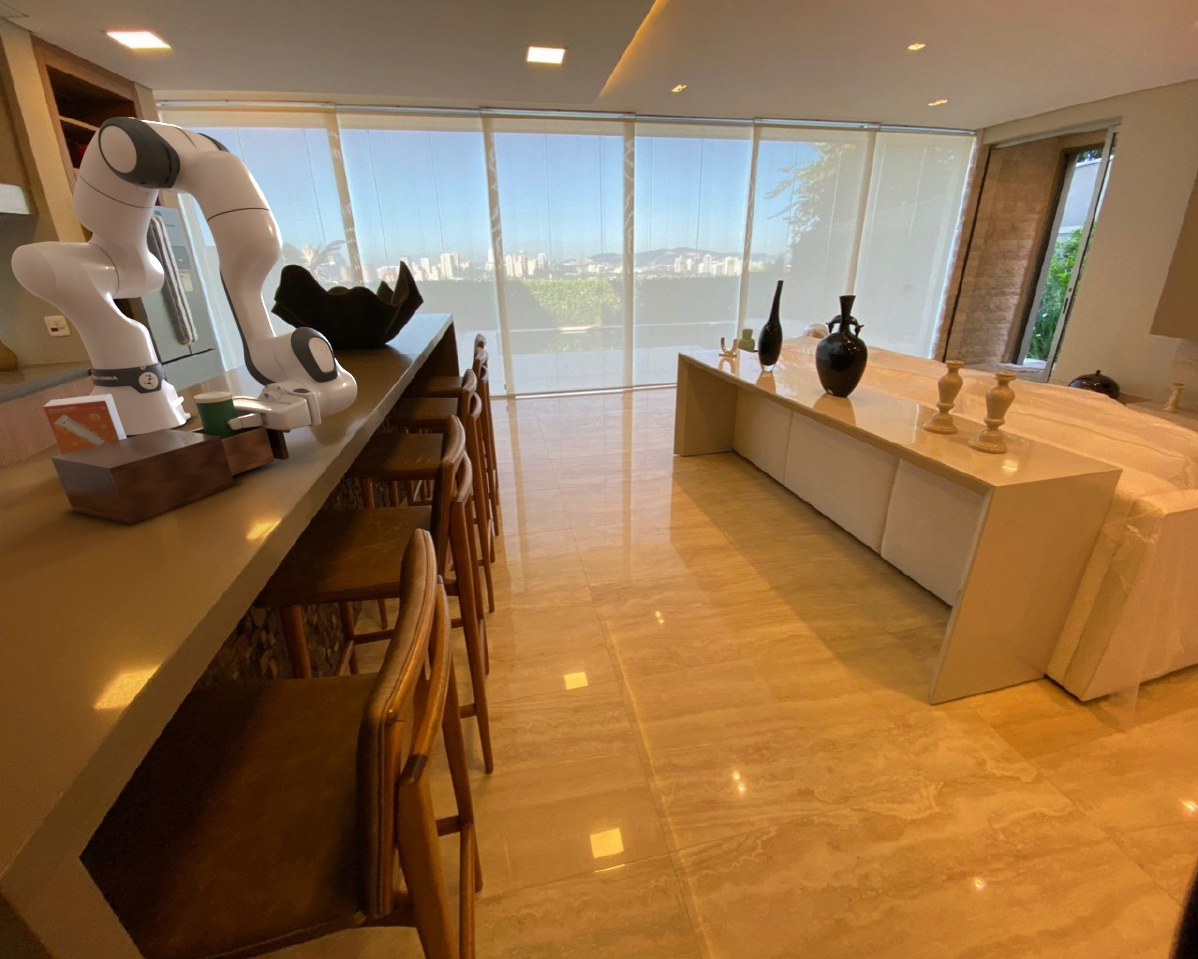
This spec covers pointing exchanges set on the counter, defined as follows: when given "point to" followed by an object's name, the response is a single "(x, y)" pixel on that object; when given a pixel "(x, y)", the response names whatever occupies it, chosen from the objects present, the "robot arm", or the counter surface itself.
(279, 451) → the drawer
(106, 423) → the small box
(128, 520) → the cabinet
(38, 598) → the counter surface
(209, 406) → the ball tube
